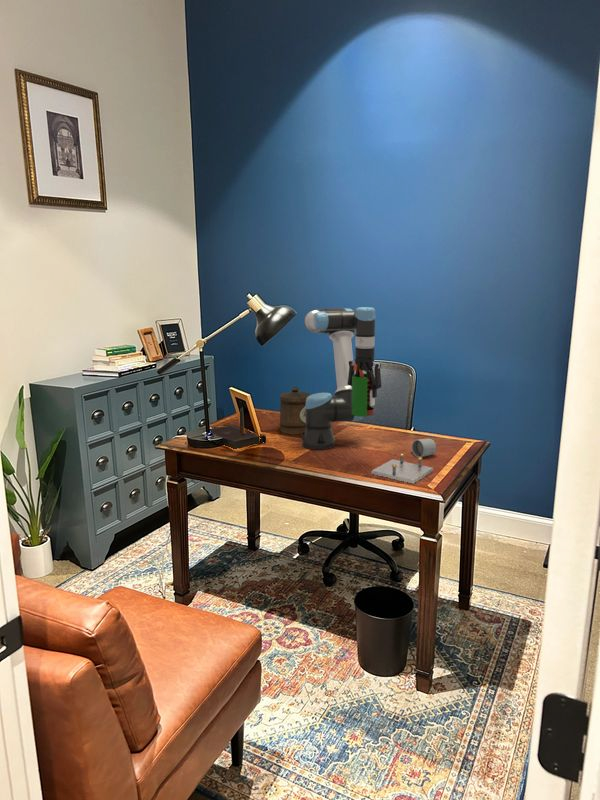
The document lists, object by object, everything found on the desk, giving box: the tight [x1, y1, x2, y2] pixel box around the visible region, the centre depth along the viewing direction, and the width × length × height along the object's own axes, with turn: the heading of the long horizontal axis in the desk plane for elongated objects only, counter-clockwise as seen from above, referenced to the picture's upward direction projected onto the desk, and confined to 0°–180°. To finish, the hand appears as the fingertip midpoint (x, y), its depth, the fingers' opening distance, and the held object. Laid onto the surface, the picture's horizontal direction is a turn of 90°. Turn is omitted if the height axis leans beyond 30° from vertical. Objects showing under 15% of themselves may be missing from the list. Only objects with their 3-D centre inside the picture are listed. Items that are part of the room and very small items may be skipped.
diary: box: [210, 424, 267, 449], centre depth 280 cm, size 19×25×5 cm
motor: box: [352, 365, 375, 418], centre depth 241 cm, size 10×9×20 cm
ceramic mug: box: [410, 438, 437, 458], centre depth 258 cm, size 11×8×8 cm
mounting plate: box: [371, 452, 434, 485], centre depth 237 cm, size 18×17×5 cm
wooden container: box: [279, 386, 311, 435], centre depth 295 cm, size 15×15×22 cm
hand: (364, 404), depth 242 cm, fingers closed on motor, 7 cm apart
